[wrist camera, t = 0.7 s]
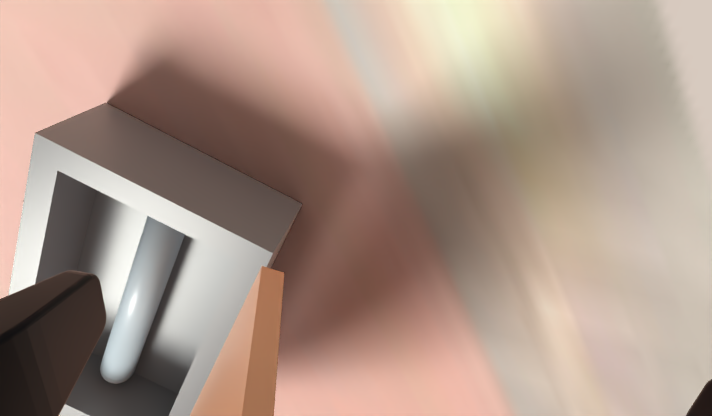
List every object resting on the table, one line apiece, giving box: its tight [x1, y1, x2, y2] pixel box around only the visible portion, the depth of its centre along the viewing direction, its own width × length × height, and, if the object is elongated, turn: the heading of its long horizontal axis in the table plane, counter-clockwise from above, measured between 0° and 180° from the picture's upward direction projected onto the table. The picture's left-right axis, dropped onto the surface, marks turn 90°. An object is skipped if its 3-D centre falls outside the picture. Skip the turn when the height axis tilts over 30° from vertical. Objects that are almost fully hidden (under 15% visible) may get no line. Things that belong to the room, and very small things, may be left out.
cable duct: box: [8, 103, 302, 416], centre depth 22 cm, size 9×14×4 cm, turn 154°
